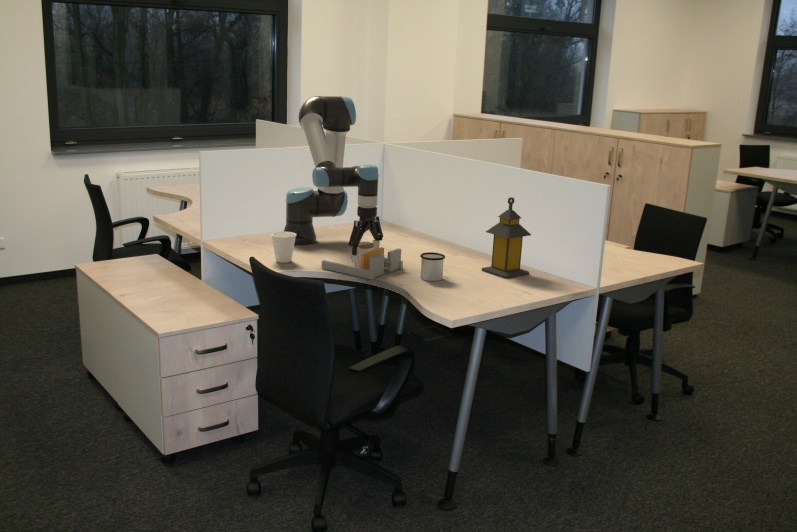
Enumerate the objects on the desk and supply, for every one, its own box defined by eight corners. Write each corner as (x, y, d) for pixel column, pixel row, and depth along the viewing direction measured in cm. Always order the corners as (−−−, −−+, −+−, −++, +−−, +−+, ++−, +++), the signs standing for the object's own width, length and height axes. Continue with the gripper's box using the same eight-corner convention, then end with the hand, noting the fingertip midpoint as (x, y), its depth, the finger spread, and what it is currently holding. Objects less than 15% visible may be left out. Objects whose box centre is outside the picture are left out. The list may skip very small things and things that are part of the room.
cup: (272, 257, 302) (272, 231, 299) (296, 258, 303) (297, 231, 300) (270, 264, 293) (270, 236, 290) (295, 264, 294) (295, 237, 291)
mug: (436, 283, 276) (437, 259, 274) (414, 278, 281) (415, 255, 279) (451, 276, 286) (452, 253, 284) (430, 272, 291) (431, 249, 289)
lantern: (480, 270, 297) (485, 195, 289) (505, 265, 305) (511, 193, 298) (505, 279, 286) (511, 202, 279) (530, 274, 295) (537, 199, 287)
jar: (361, 265, 297) (362, 240, 294) (376, 268, 293) (377, 243, 291) (350, 268, 291) (351, 243, 288) (365, 272, 287) (366, 247, 285)
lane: (353, 258, 307) (353, 239, 305) (402, 268, 295) (403, 248, 293) (321, 268, 290) (321, 248, 288) (372, 279, 278) (373, 258, 276)
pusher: (381, 264, 296) (381, 247, 294) (400, 268, 291) (401, 251, 289) (360, 271, 284) (361, 253, 283) (380, 276, 280) (381, 258, 278)
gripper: (377, 200, 297) (375, 252, 303) (339, 209, 277) (338, 264, 282) (393, 203, 293) (391, 255, 299) (356, 211, 273) (354, 267, 279)
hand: (365, 259), depth 291 cm, fingers open, 13 cm apart
